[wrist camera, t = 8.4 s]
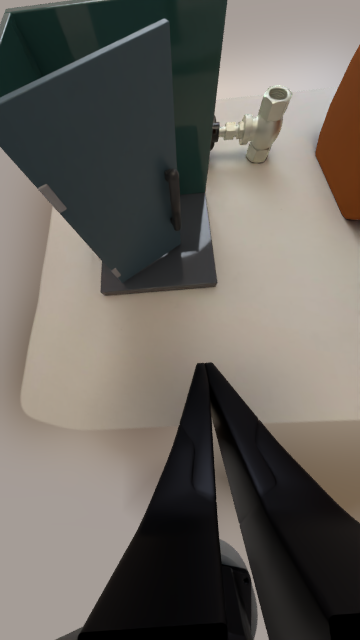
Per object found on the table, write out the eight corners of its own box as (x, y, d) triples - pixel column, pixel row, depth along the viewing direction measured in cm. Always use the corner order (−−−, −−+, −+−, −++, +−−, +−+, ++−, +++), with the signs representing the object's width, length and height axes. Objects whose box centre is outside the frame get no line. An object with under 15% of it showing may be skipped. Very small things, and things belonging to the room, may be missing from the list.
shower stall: (215, 286, 22) (276, 144, 7) (104, 295, 22) (-56, 178, 8) (204, 197, 26) (228, -21, 11) (108, 206, 26) (5, 8, 11)
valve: (266, 141, 28) (198, 146, 28) (290, 76, 21) (202, 84, 22) (271, 169, 26) (200, 173, 27) (299, 108, 20) (205, 116, 20)
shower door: (186, 250, 22) (186, 32, 7) (127, 290, 21) (-17, 134, 6) (178, 241, 22) (163, 16, 7) (120, 280, 21) (-31, 110, 6)
